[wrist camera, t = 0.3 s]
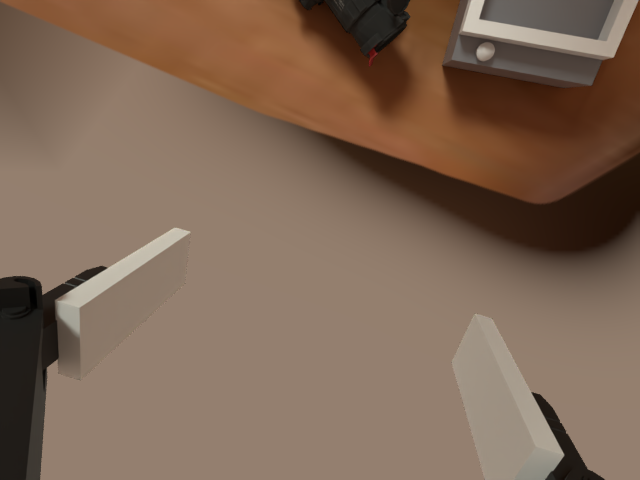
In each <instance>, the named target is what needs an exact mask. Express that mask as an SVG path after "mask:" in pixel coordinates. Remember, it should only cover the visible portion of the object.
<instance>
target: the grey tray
mask: <svg viewBox="0 0 640 480" xmlns="http://www.w3.org/2000/svg"><path fill="white" fill-rule="evenodd" d="M637 2H638V0H460V4H459V7H458V11H457V14H456V18H455V21H454V25H453V29H452V32H451V36H450V39H449V43H448V47H447V50H446V54H445V57H444V61H443V65H442V66H448V67H453V68H459V69H464V70H469V71H475V72H480V73H485V74H491V75H496V76H501V77H507V78H512V79H518V80H523V81H528V82H534V83H539V84H544V85H550V86H555V87H560V88H571V87H582V86H592V84H593V81H594V79H595V77H596V74H597V72H598V70H599V67H600V65H601V63H602V60H605V59H610V58H614V55H615V53H616V51H617V48H618V46H619V44H620V42H621V39H622V37H623V35H624V32H625V30H626V28H627V25H628V23H629V21H630V19H631V16H632V14H633V12H634V9H635V7H636V5H637Z"/></svg>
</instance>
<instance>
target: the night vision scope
mask: <svg viewBox="0 0 640 480" xmlns="http://www.w3.org/2000/svg"><path fill="white" fill-rule="evenodd" d="M299 1H300V2H301V4H302V5H303V7H304V8H306V9H307V10H311V9H312V8H311V7H312V6H314V5H315V4H317V3H318V5H321V4H322V2H323V1H324V0H299ZM409 1H410V0H325V2H326V3H327V5H328V6H329V8H330V9H331V10H332V12H333V13H334V15H335V16H336V18H337V19H338V21H339V22H340V24H341V25H342V27H343V28H344V30H345V31H346V32H348V33H349V34H350V33H351V34H352V35H353V37H354V38H355V40H356V41H357V43H358V44H359V46H360V47H361V49H360V50H361V52H362V53H363V54H364V56H367V57H368V58H370V60H369V67H370V66H371V65H372V63H373V59H374V57H375V56H376V55H377V54H378V52H379V51H381V50H382V49H383V48H384V47H385V46H387V45H388V44H389V43H390V42H391V41H392V40H394V39H395V38H396V37H397V36H398V35H399V34H400V33H401V32H402V31H403V30H404V29H405V28H406V26H407V24H406V21H407V20H408V19H409V18H410V16H409V14H408V13H407V12H405V11H404V10H405V9H406V8H407V6H408V4H409Z"/></svg>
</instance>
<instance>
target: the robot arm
mask: <svg viewBox="0 0 640 480" xmlns="http://www.w3.org/2000/svg"><path fill="white" fill-rule="evenodd" d="M190 235H191V232H189V231H185V230H182V229H178V228H173V229H172V230H170V231H168V232H167V233H165V234H164V235H162V236H160V237H159V238H157V239H155V240H154V241H152V242H150V243H149V244H147V245H145V246H144V247H142V248H140V249H139V250H137V251H135V252H134V253H132V254H130V255H129V256H127V257H126V258H124V259H122V260H121V261H119V262H117V263H116V264H114V265H112V266H111V267H109V268H107V267H104V266H99V267H96V268H92V269H89V270H86V271H84V272H82V273H81V274H79V275H77V276H75V278H72V279H70V280H68V281H67V282H65V284H61V285H59V286H58V287H56V288H54V289H52V290H51V291H49V292H47V293H46V294H44V295H42V286H41V283H40V282H39V281H38V280H36V279H34V278H30V277H25V276H13V277H6V278H2V279H0V480H40V472H41V458H42V444H43V428H44V415H45V400H46V386H47V367H48V366H49V365H51V364H52V363H53V362H54V361H56V360H57V359H58V373H59V374H61V375H65V376H68V377H71V378H74V379H78V380H82V379H83V378H84V377H85V376H86V375H87V374H88V373H90V372H91V371H92V370H93V369H94V368H95V367H96V366H97V365H98V364H99V363H100V362H101V361H102V360H103V359H105V358H106V357H107V356H108V355H109V354H110V353H111V352H112V351H113V350H114V349H115V348H116V347H118V346H119V344H121V343H122V342H123V341H124V340H125V339H126V338H127V337H128V336H129V335H130V334H132V332H134V331H135V330H136V329H137V328H138V327H139V326H140V325H141V324H142V323H143V322H144V321H146V320H147V319H148V318H149V317H150V316H151V315H152V314H153V313H154V312H155V311H156V310H157V309H158V308H160V306H162V305H163V304H164V303H165V302H166V301H167V300H168V299H169V298H170V297H171V296H172V295H173V294H175V293H176V292H177V291H178V290H179V289H180V288H181V287H182V286H183V285H184V284H185V280H186V270H187V262H188V252H189V244H190ZM451 363H452V366H453V370H454V373H455V376H456V380H457V384H458V387H459V391H460V395H461V398H462V401H463V405H464V409H465V412H466V416H467V419H468V423H469V426H470V430H471V433H472V437H473V440H474V444H475V448H476V451H477V454H478V458H479V462H480V465H481V469H482V473H483V476H484V480H604V479H603V478H602V477H600V476H599V475H597V474H596V473H594V472H593V471H590V470H588V469H587V467H586V465H585V463H584V462H583V460H582V458H581V457H580V455H579V453H578V451H577V450H576V448H575V446H574V444H573V443H572V441H571V439H570V437H569V436H568V434H566V431H565V429H564V427H563V426H562V423H560V420H559V418H558V416H557V415H556V413H555V411H554V410H553V408H552V407H551V406H550V404H549V403H548V402H546V400H545V399H544V398H543V397H542V396H541V395H540V394H536V393H533V392H531V391H530V389H529V387H528V386H527V383H526V382H525V380H524V378H523V376H522V374H521V372H520V370H519V368H518V366H517V365H516V363H515V361H514V359H513V357H512V355H511V353H510V351H509V349H508V348H507V346H506V344H505V342H504V340H503V338H502V336H501V335H500V333H499V331H498V329H497V327H496V325H495V323H494V321H493V319H492V318H489V317H486V316H482V315H478V314H474V316H473V318H472V320H471V322H470V324H469V327H468V328H467V331H466V333H465V335H464V337H463V339H462V341H461V343H460V346H459V347H458V350H457V352H456V354H455V356H454V358H453V360H452V362H451Z"/></svg>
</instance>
